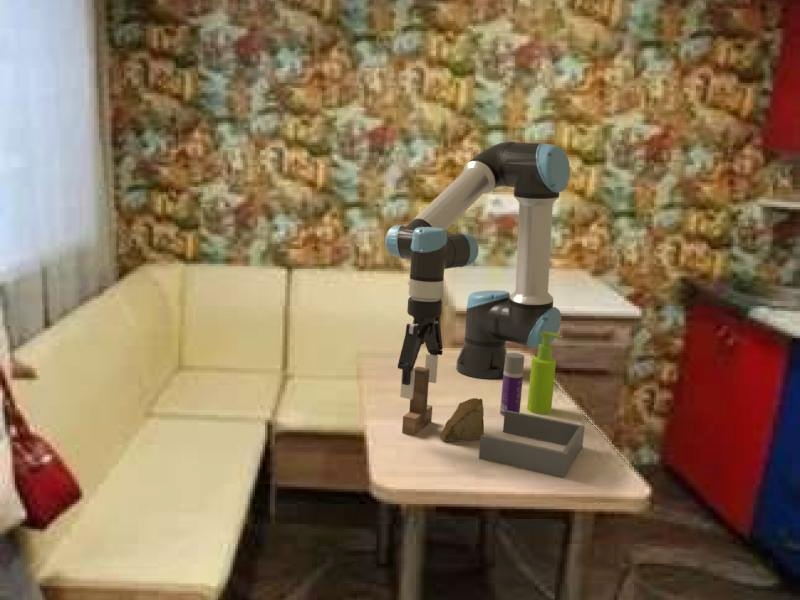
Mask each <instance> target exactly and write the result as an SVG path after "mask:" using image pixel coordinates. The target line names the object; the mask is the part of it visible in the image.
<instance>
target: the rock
mask: <svg viewBox="0 0 800 600" xmlns="http://www.w3.org/2000/svg"><path fill="white" fill-rule="evenodd" d="M483 402H484V401H483V399H482V398H477V397H476V398H474V397H473V398H469V399H468V400H465V401H462V402H460V403H459V404H458V406H457V408H456V409H455V411H454V412H453V414H452V415H451V417H450V418H449V419H448V420H447V421H446V422H445V425H444V427H443V429H442V431H441V433H440V436H439V438H440V439H441V440H442V442H459V441H472V440H480V439H481V435H482V434H483V435H485V432H484V431H485V430H484V428H485V427H484V423H485V420H484V416H485V415H484V413H485V412H484V404H483Z"/></svg>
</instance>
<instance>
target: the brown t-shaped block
mask: <svg viewBox="0 0 800 600" xmlns="http://www.w3.org/2000/svg"><path fill="white" fill-rule="evenodd" d="M413 370H415V377H414V392H413V399H409V411H408V412H407V413H406V414H405V415H403V416H402V427H401V428H402V430H401V434H405V435H408V436H413V437H415V436H416V435H417V434H419V433H420V432H421V431H422V430H423V429H424V428H426V427H427V426H429V424H430V423H432V417H433V405H432V404H431V405H430V404H428V396H429V384H430V382H429V368H425V366H424V367H422V366H418V365H417V366H414V368H413Z"/></svg>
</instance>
